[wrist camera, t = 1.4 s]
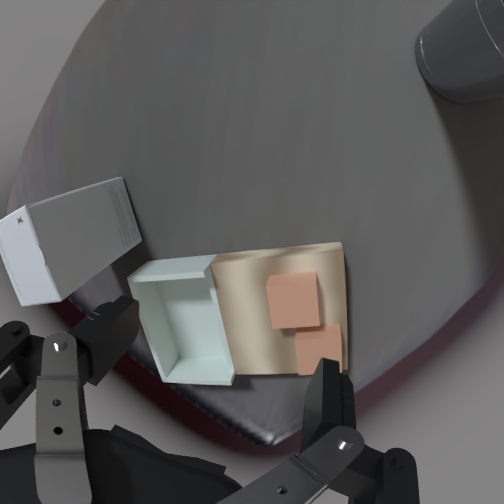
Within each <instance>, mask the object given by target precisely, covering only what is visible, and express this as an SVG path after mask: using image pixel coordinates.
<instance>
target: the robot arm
mask: <svg viewBox="0 0 504 504" xmlns="http://www.w3.org/2000/svg"><path fill="white" fill-rule="evenodd" d="M415 54H416V61H417V64H418V67H419V69H420V71H421V73H422V75H423V77H424V78H425V80H426V81H427V82H428V84H429V85H430V86H431V87H432V88H433V89H434V90H435V91H436V92H437V93H439V94H440V95H441V96H443V97H444V98H446V99H448V100H450V101H453V102H457V103H472V102H477V101H482V100H488V99H493V98H498V97H504V0H453V1H452V2H451V3H450V4H449V5H448V6H446V7H445V8H444V9H443V10H442V11H441V12H440V13H439V14H438V15H437V16H436V17H435V18H434V19H433V20H432V21H431V22H430V23H429V24H428V25H427V26H426V27H425V28H424V29H423V30H422V31H421V33H420V34H419V35H418V38H417V41H416V45H415ZM138 330H139V301H138V300H135V299H133V298H130V297H127V296H125V295H122V296H120V297H119V298H118V299H117V300H116V301H115V302H113V303H112V302H107V303H105V304H102V305H99V306H98V307H97V308H96V309H95V310H93V312H91V313H90V314H89V315H88V316H87V317H85V318H84V319H83V320H82V321H80V322H79V323H78V324H77V325H76V326H75V327H73V328H72V329H71V330H70V331H69V332H68V333H66V332H55V333H52V334H50V335H48V336H47V337H46V338H43V337H39V336H35V335H31V334H30V330H29V327H28V325H27V324H25V323H24V322H21V321H11V322H8V323H6V324H4V325H3V326H2V327H1V328H0V374H1V373H2V372H3V371H4V370H5V369H6V368H7V367H8V366H9V365H10V368H11V369H10V370H9V371H8V372H7V373H6V374H5V375H4V376H3V377H2V378H1V379H0V430H1V429H2V427H3V426H4V425H5V424H6V422H7V421H8V420H9V419H10V418H11V417H12V415H13V414H14V413H15V412H16V410H17V409H18V408H19V407H20V406H21V405H22V403H23V402H24V401H25V400H26V399H27V398H28V396H29V395H30V394H31V393H32V392H33V391H34V389H36V443H32V444H28V445H24V446H19V447H14V448H9V449H4V450H0V504H311V503H313V502H314V501H315V500H316V499H317V498H318V497H320V496H321V495H322V494H323V493H324V492H325V491H326V490H327V489H328V488H329V489H331V490H334V491H336V492H338V493H341V494H343V495H346V496H348V497H349V500H348V504H420V501H419V488H418V477H417V467H416V461H415V459H414V457H413V456H412V455H411V454H410V453H409V452H408V451H406V450H404V449H401V448H392V449H389V450H388V451H387V452H386V453H382V452H380V451H377V450H375V449H373V448H370V447H368V446H367V445H365V444H364V439H363V437H362V435H361V434H360V433H359V432H358V431H357V430H356V417H355V404H354V396H353V394H354V391H353V384H352V382H351V380H350V379H349V377H348V375H344V374H340V364H339V361H336V360H332V359H328V358H323V357H322V358H321V359H320V361H319V363H318V365H317V367H316V369H315V372H314V374H313V376H312V378H311V380H310V383H309V385H308V388H307V391H306V397H305V407H304V418H303V427H302V438H301V446H300V454H299V455H298V456H296V455H292V456H291V457H289V458H287V459H286V460H285V461H283V462H282V463H280V464H279V465H277V466H276V467H274V468H273V469H271V470H270V471H268V472H267V473H265V474H264V475H262V476H261V477H259V478H258V479H256V480H255V481H253V482H251V483H250V484H248V485H247V486H245V487H242V486H241V485H240V484H239V483H237V482H236V481H235V480H233V479H232V478H230V477H229V476H227V475H225V474H224V472H225V469H226V467H225V466H222V465H219V464H216V463H212V462H209V461H206V460H202V459H200V458H196V457H188V456H181V455H174V454H168V453H165V452H163V451H162V450H160V449H158V448H157V447H155V446H154V445H153V444H151V443H150V442H148V441H147V440H146V439H144V438H143V437H141V436H140V435H137V434H135V433H133V432H131V431H128V430H126V429H124V428H122V427H120V426H118V425H114V427H113V428H112V430H111V431H109V430H103V429H89V426H88V420H87V413H86V404H85V395H84V388H83V386H84V385H85V384H86V383H87V382H89V383H90V384H92V385H94V386H97V384H98V383H99V382H100V381H101V380H102V379H103V377H104V376H105V375H106V374H107V373H108V372H109V370H110V369H111V368H112V367H113V365H114V364H115V363H116V362H117V361H118V360H119V359H120V357H121V356H122V355H123V354H124V353H125V352H126V350H127V349H128V348H129V347H130V346H131V345H132V343H133V342H134V341H135V339H136V337H137V334H138Z"/></svg>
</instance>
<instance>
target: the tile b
mask: <svg viewBox="0 0 504 504" xmlns="http://www.w3.org/2000/svg"><path fill="white" fill-rule="evenodd" d="M295 346H296V354H297V363H298V372H299V375H313V374H314V372H315V369H316V367H317V365H318V363H319V361H320V359H321V358H322V357H323V358H328V359H332V360H336V361H339V364H340V373H342V341H341V329H340V324H331V325H320V326H310V327H296V336H295Z"/></svg>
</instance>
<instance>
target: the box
mask: <svg viewBox="0 0 504 504" xmlns="http://www.w3.org/2000/svg"><path fill="white" fill-rule="evenodd" d="M216 256H217V254H213V255H203V256H193V257H183V258H173V259H163V260H154V261H147V262H146V263H145V264H144V265H142V266H141V267H140V268H138V269H137V270H136V271H134V272H133V273H132V274H131V275H129V276H128V277H127V280H128V283H129V286H130V290H131V293H132V296H133V299H135V300H138V301H139V318H140V321H141V324H142V327H143V330H144V332H145V335H146V338H147V341H148V344H149V346H150V349H151V352H152V354H153V357H154V360H155V362H156V365H157V368H158V370H159V373H160V375H161V378H162V380H163V382H172V383H187V384H207V385H232V382H233V379H234V377H235V371H234V367H233V363H232V359H231V355H230V351H229V347H228V343H227V338H226V334H225V330H224V326H223V321H222V317H221V313H220V308H219V304H218V300H217V295H216V291H215V286H214V282H213V277H212V272H211V268H210V263H211V262H212V260H213V259H214V258H215V257H216Z"/></svg>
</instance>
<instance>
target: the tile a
mask: <svg viewBox="0 0 504 504" xmlns="http://www.w3.org/2000/svg"><path fill="white" fill-rule="evenodd" d="M266 290H267V297H268V303H269V310H270V316H271V322H272V329H280V328H296V327H310V326H320V311H319V299H318V287H317V276H316V271H315V272H304V273H293V274H282V275H270V276H269V278H268V281H267V284H266Z"/></svg>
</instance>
